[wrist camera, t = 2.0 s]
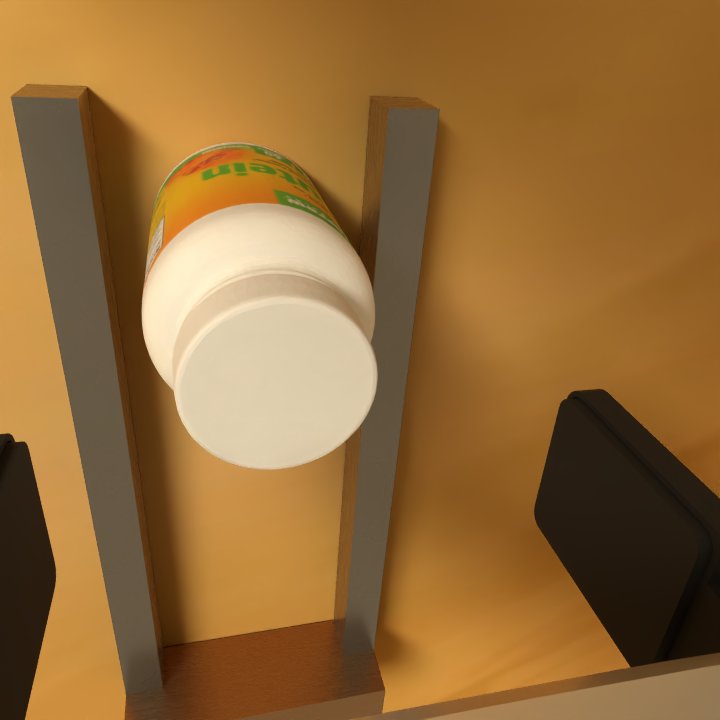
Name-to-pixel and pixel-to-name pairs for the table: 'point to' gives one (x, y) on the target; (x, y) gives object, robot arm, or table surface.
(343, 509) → the u-shaped frame
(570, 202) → the table surface
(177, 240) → the supplement bottle
